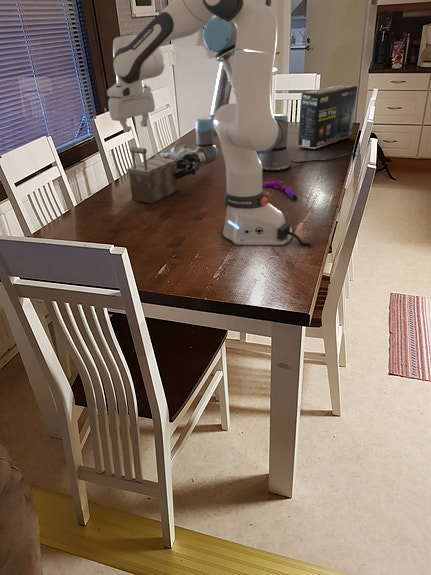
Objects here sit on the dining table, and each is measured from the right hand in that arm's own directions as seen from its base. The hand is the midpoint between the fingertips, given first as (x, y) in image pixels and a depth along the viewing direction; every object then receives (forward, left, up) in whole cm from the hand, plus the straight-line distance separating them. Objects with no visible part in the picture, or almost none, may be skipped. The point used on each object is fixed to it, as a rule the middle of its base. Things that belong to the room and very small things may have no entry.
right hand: (162, 173), depth 185 cm
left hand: (+12, +6, +20) cm, 24 cm away
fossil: (-28, -39, -7) cm, 48 cm away
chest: (+5, +3, -7) cm, 9 cm away
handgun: (-36, +31, -7) cm, 48 cm away
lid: (+6, +3, +4) cm, 8 cm away
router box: (-103, -14, -7) cm, 104 cm away
